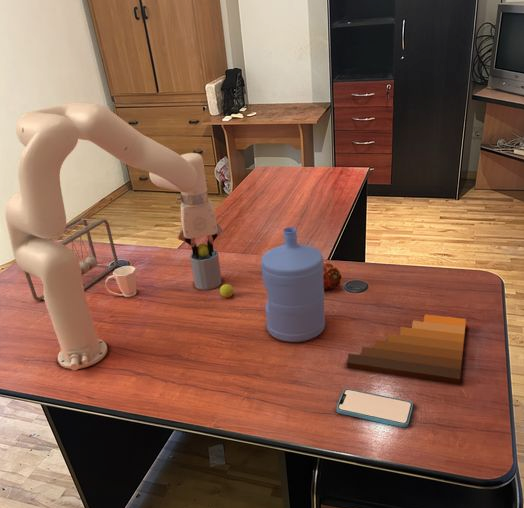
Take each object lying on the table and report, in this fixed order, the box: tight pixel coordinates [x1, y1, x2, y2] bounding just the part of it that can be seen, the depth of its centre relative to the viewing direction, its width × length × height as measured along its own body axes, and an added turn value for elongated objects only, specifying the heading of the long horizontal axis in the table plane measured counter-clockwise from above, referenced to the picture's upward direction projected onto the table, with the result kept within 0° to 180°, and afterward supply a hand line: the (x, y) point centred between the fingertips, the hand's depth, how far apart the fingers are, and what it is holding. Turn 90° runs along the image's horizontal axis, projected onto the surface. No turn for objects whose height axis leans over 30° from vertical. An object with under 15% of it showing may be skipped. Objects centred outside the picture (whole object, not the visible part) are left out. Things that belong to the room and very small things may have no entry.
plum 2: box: [219, 283, 234, 298], centre depth 163 cm, size 4×4×4 cm
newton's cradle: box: [23, 216, 119, 302], centre depth 175 cm, size 30×10×18 cm, turn 156°
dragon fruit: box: [323, 262, 342, 290], centre depth 162 cm, size 8×8×12 cm
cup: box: [105, 265, 138, 298], centre depth 168 cm, size 7×10×8 cm
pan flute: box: [346, 314, 467, 385], centre depth 133 cm, size 25×3×25 cm
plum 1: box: [196, 242, 209, 257], centre depth 166 cm, size 4×4×4 cm
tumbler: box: [189, 248, 223, 291], centre depth 169 cm, size 9×9×10 cm
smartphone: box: [336, 388, 414, 428], centre depth 116 cm, size 8×1×15 cm
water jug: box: [260, 226, 326, 343], centre depth 139 cm, size 16×16×28 cm
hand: (203, 255), depth 167 cm, fingers closed on plum 1, 3 cm apart
